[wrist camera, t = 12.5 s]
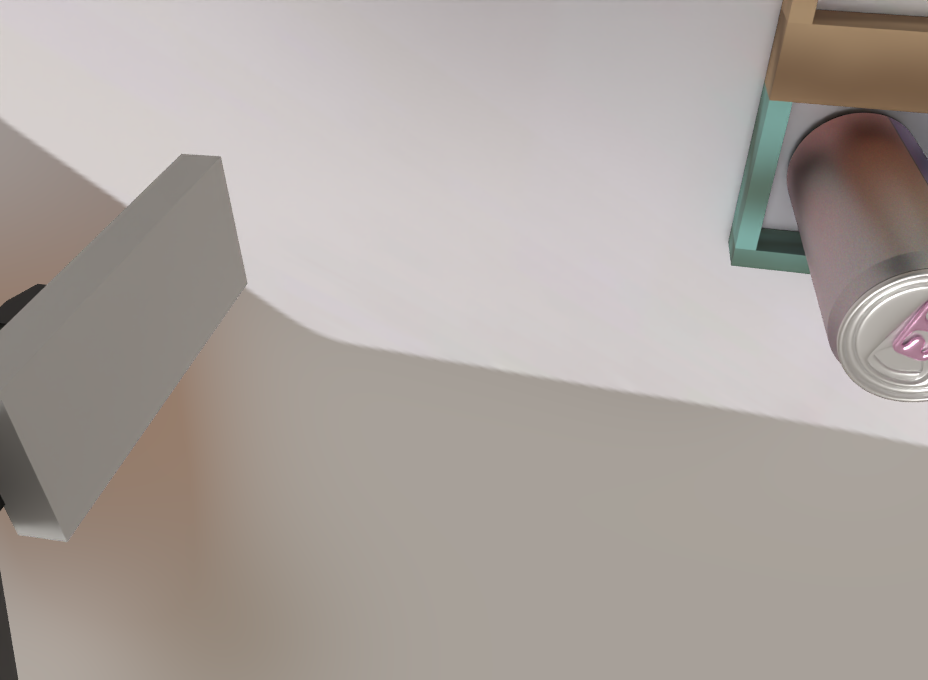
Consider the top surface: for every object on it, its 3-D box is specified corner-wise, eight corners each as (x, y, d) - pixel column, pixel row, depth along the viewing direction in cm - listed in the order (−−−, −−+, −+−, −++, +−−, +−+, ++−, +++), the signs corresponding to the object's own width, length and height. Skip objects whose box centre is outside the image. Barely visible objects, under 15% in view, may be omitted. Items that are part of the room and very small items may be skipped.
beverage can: (944, 134, 40) (1062, 306, 28) (869, 237, 44) (946, 428, 32) (827, 88, 40) (897, 241, 28) (762, 195, 44) (799, 372, 32)
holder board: (833, -222, 34) (843, -218, 32) (1099, -214, 32) (1128, -210, 30) (728, 241, 46) (731, 265, 44) (919, 262, 44) (931, 287, 42)
